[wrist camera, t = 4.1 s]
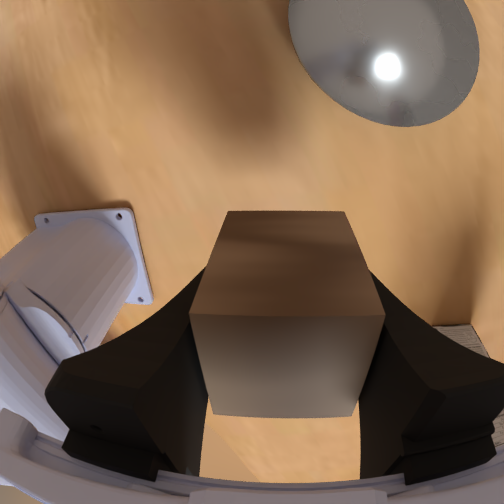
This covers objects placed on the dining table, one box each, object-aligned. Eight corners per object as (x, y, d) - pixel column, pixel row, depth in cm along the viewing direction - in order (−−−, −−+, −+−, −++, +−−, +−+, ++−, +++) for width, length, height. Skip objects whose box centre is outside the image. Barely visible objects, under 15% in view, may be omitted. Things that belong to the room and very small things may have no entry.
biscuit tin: (290, 115, 17) (293, 121, 14) (281, -45, 11) (281, -65, 9) (452, 128, 16) (477, 138, 13) (446, -20, 10) (469, -30, 8)
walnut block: (235, 302, 14) (213, 414, 9) (228, 211, 12) (188, 312, 7) (333, 303, 14) (351, 416, 9) (344, 211, 12) (385, 314, 7)
